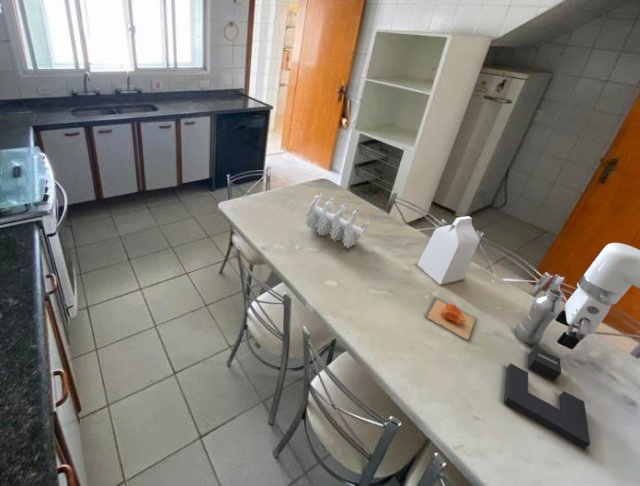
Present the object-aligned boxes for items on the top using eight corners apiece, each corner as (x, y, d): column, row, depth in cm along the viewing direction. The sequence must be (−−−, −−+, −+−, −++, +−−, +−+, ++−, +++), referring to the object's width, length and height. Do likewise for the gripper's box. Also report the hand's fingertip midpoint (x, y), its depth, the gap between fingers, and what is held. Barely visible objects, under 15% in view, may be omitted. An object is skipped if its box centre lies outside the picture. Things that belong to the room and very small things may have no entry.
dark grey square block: (553, 367, 97) (560, 358, 95) (554, 382, 93) (561, 373, 91) (528, 354, 100) (534, 345, 98) (527, 368, 96) (534, 359, 94)
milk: (439, 260, 139) (462, 208, 127) (463, 279, 129) (490, 224, 117) (417, 265, 135) (439, 211, 123) (440, 284, 126) (466, 228, 114)
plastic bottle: (540, 340, 105) (573, 295, 96) (532, 350, 102) (566, 304, 93) (517, 326, 110) (546, 281, 101) (509, 335, 106) (539, 289, 97)
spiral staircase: (350, 260, 141) (301, 232, 155) (370, 231, 149) (321, 207, 162) (353, 237, 128) (299, 209, 142) (374, 207, 135) (321, 183, 149)
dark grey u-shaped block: (579, 406, 87) (584, 401, 86) (584, 449, 78) (590, 444, 77) (506, 368, 96) (510, 362, 94) (503, 403, 86) (507, 397, 85)
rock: (467, 340, 103) (473, 331, 101) (426, 317, 111) (431, 308, 109) (475, 319, 111) (480, 310, 109) (436, 299, 119) (440, 290, 117)
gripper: (627, 317, 74) (584, 364, 82) (614, 278, 87) (578, 322, 94) (583, 299, 78) (546, 346, 86) (576, 264, 91) (545, 308, 99)
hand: (563, 334), depth 90 cm, fingers open, 9 cm apart
